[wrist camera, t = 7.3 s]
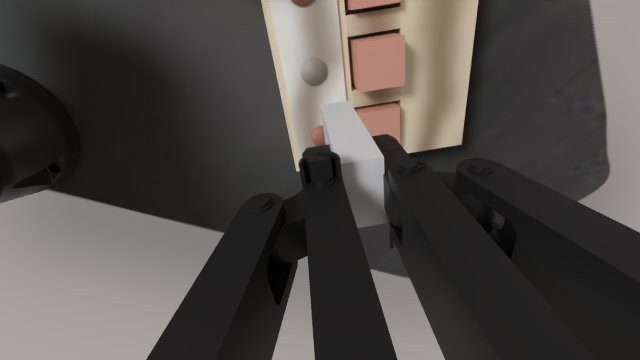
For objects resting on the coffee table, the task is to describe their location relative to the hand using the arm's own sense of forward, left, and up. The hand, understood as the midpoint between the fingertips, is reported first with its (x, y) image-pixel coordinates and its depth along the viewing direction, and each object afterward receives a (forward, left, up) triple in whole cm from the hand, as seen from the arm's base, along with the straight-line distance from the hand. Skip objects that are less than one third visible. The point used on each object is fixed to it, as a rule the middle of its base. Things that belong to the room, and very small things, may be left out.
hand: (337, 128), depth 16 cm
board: (+6, 0, -20) cm, 21 cm away
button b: (+6, 0, -18) cm, 19 cm away
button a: (+6, -7, -19) cm, 21 cm away
